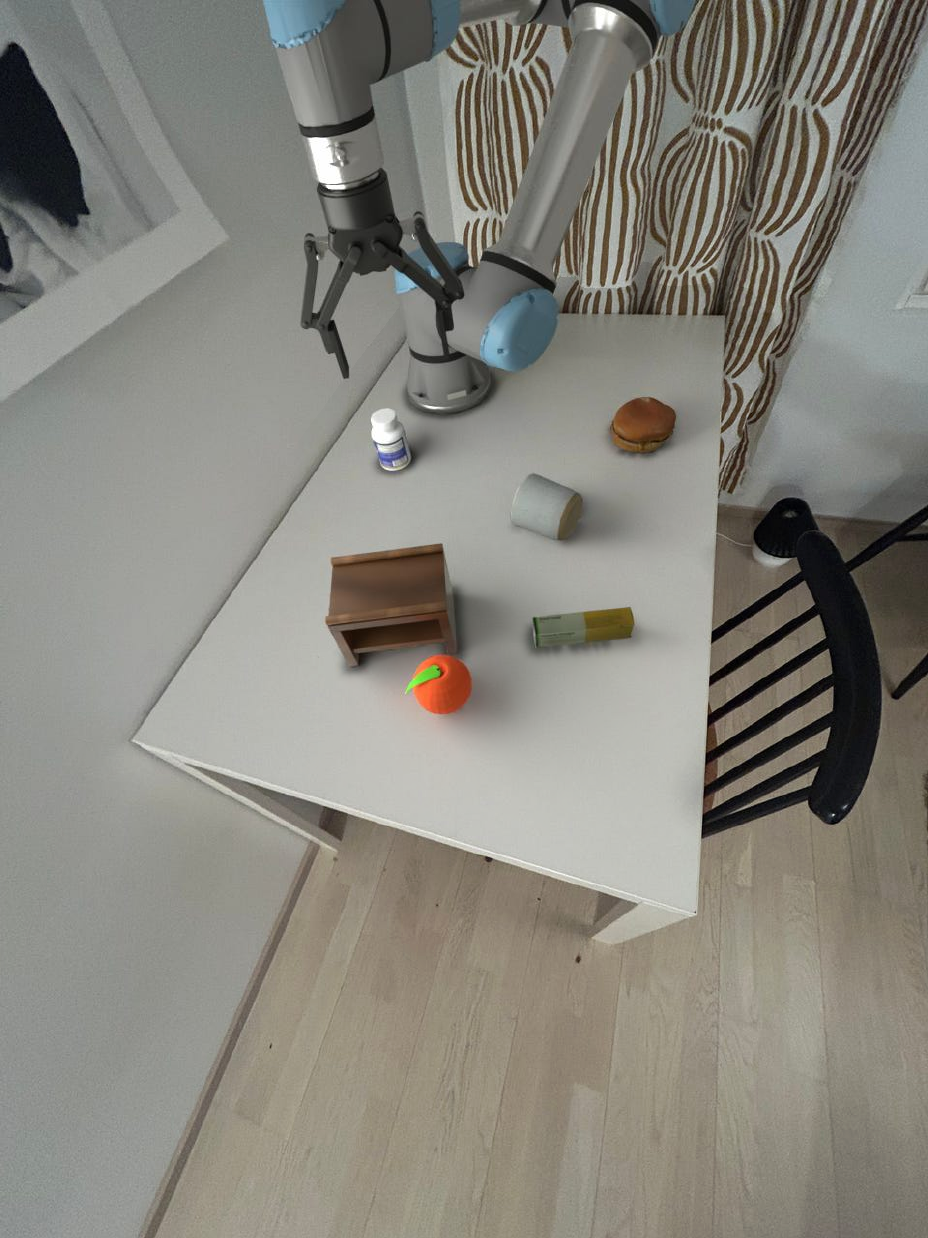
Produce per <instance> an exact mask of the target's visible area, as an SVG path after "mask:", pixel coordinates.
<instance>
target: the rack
mask: <svg viewBox="0 0 928 1238" xmlns="http://www.w3.org/2000/svg"><path fill="white" fill-rule="evenodd" d="M329 559H330V560H329V561H330V565H331V566H332V567H331V568H332V569H331V579H330V592H329V602H328V613H327V616H325V617H324V623H325V625H326V626H327V629H328V631H329V632H330V634H331V635H332V638H333V640H334V641H335V643H336V645H337V646H338V649H339V650H340V652H341V654H342V656H343V658H344V659H345V661H346V663H347V665H348V666H349V667H356V666H359V659H360V653H368V652H377V651H386V650H394V649H402V648H403V649H404V648H411V647H418V646H420V647H421V646H428V645H435V644H444V645H445V649H446V652H447V655H450V656H452V655H457V654H458V645H457V629H456V618H455V617H456V616H455V602H454V591H453V586H452V582H451V581H452V580H451V577H450V573H449V567H448V563H447V559H446V554H445V549H444V546H443V542H442V543H434V544H425V545H418V546H411V547H404V548H403V547H402V548H395V549H388V550H380V551H372V552H364V553H357V554H349V555H341V556H335V557H334V556H333V557H330V558H329Z"/></svg>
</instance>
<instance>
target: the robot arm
mask: <svg viewBox="0 0 928 1238" xmlns="http://www.w3.org/2000/svg"><path fill="white" fill-rule="evenodd" d="M696 1H697V0H262V5H263V8H264V12H265V16H266V19H267V24H268V27H269V31H270V39H271V42H272V45H273V46H274V47H275V51H276V54H277V58H278V61H279V64H280V65H279V66H280V69H281V71H282V75H283V78H284V82H285V86H286V88H287V91H288V95H289V99H290V101H291V105H292V108H293V113H294V115H295V119H296V122H297V124H298V128H299V132H300V136H301V139H302V144H303V146H304V151H305V154H306V158H307V161H308V164H309V168H310V171H311V176H312V178H313V179H314V180H315V181H316V182H318V184H317V186H316V192H317V195H318V199H319V203H320V206H321V210H322V213H323V216H324V220H325V224H326V228H327V231H328V233H327V235H324V236H315V235H314V234H313V233H311V232H307V233H306V234H305V235H304V241H303V242H304V243H303V252H304V257H305V261H306V272H305V278H304V279H305V281H304V289H303V294H302V295H303V297H302V304H301V311H300V312H301V313H300V327H301V328H302V329H303V330H309V329H315V330H316V331H317V332H318V333H319V336H320V338H321V341H322V344H323V347H324V350H325V352H326V353H327V354H328V355H331V354H332V355H333V354H334V355H335V358H336V361H337V364H338V367H339V369H340V373H341V376H342V379H343V380H346V379H347V380H348V379H350V365H349V362H348V359H347V356H346V352H345V350H344V347H343V343H342V340H341V336H340V333H339V330H338V327H337V323H336V321H335V319H332V318H333V315H334V314H335V311H336V309H337V306H338V304H339V302H340V299H341V297H342V295H343V293H344V291H345V289H346V286H347V285H348V283H349V282H350V280H351V277H352V275H353V273H355V274H358V275H359V276H360V277H363V276H367V275H369V274H371V273H373V272H374V273H375V272H376V273H382V272H387V269H389V268H390V267H392V268H394V280H395V293H396V295H397V299H398V304H399V308H400V312H401V317H402V322H403V327H404V331H405V332H404V333H405V336H406V340H407V344H408V350H409V362H408V371H407V377H406V378H407V379H406V390H407V395H408V400H409V401H410V403H411V404H412V405H413V406H414V407H415V408H416V409H418V410H421V412H425V413H429V414H434V415H451V414H456V413H460V412H464V411H467V410H469V409H471V408H473V407H475V406H477V405H478V404H480V403H481V402H482V401H484V400H485V399H486V398H487V396H488V395H489V393H490V391H491V388H492V381H491V378H492V377H491V373H490V369H489V367H488V366H490V367H492V368H499V369H500V370H503V371H507V372H520V371H522V370H525V369H527V368H528V367H529V366H531V365H533V364H534V363H535V362H537V361H538V359H540V358H541V357H542V356H543V354H544V352H545V351H546V350H547V349H548V347H549V345H550V344H551V342H552V340H553V338H554V336H555V333H556V330H557V327H558V322H559V321H558V319H557V317H558V316H559V313H560V312H559V311H560V308H559V303H558V301H557V298H556V297H555V296H554V293H555V290H556V288H557V286H558V285H557V284H558V282H557V279H556V276H555V272H554V266H555V263H556V261H557V258H558V256H559V253H560V251H561V248H562V246H563V244H564V241H565V239H566V236H567V234H568V231H569V229H570V227H571V224H572V222H573V219H574V217H575V214H576V212H577V209H578V207H579V205H580V203H581V200H582V198H583V194H584V193H585V190H586V187H587V185H588V184H589V183H588V182H589V180H590V177H591V175H592V173H593V170H594V168H595V165H596V163H597V161H598V158H599V156H600V154H601V151H602V148H603V146H604V144H605V141H606V138H607V136H608V134H609V131H610V129H611V126H612V124H613V122H614V119H615V117H616V114H617V111H618V110H619V108H620V107H619V106H620V105H621V102H622V100H623V97H624V95H625V92H626V89H627V88H628V85H629V83H630V80H631V78H632V75H633V74H635V73H637V72H640V71H641V70H643V69H645V68H647V67H648V65H649V64H650V62H651V60H652V58H653V55H654V53H655V50H656V49H657V45H658V43H659V41H660V39H661V37H662V36H663V37H666V38H668V37H671V36H673V35H676V34H677V33H679V32H680V31H682V29H683V28H684V27H685V26H686V24H687V23H688V20H689V19H690V17H691V14H692V13H693V10H694V7H695V4H696ZM499 20H503V21H504V22H505V23H506V24H508V25H510V26H514V27H519V26H523V25H527V24H529V25H530V24H532V25H533V24H536V25H547V26H552V27H553V26H554V27H561V28H567V29H568V30H569V31H568V32H569V34H570V37H571V40H572V42H571V46H570V48H569V51H568V54H567V56H566V59H565V61H564V64H563V67H562V70H561V73H560V75H559V78H558V80H557V83H556V85H555V89H554V91H553V94H552V97H551V99H550V102H549V105H548V107H547V110H546V112H545V115H544V119H543V121H542V124H541V126H540V128H539V131H538V134H537V137H536V139H535V142H534V145H533V148H532V150H531V153H530V156H529V158H528V161H527V164H526V166H525V169H524V172H523V174H522V178H521V179H520V182H519V185H518V187H517V191H516V193H515V196H514V198H513V201H512V204H511V206H510V209H509V212H508V215H507V217H506V220H505V223H504V225H503V229H502V230H501V234H500V236H499V239H498V241H496V243H495V244H492V245H490V246H488V247H486V248H484V249H483V251H482V254H481V256H480V259H479V261H478V264H477V267H474V266H472V265H470V264H469V259H470V255H469V254H468V251H467V247H466V246H465V245H464V244H462V243H461V242H456V241H442V242H441V241H440V242H436V241H435V239H434V238H433V237H432V235H431V234H430V232H429V230H428V228H427V227H428V226H427V222H426V219H425V215H424V213H423V212H422V211H420V210H417V211H414V213H413V216H412V217H410V218H405V219H404V220H399V219H398V217H397V215H396V212H395V207H394V203H393V197H392V193H391V188H390V183H389V178H388V172H387V171H386V170H385V169H384V168H383V165H384V164H385V157H384V152H383V147H382V142H381V137H380V136H381V135H380V131H379V126H378V121H377V117H376V112H375V106H374V101H373V95H372V89H371V85H374V84H377V83H379V82H381V81H383V80H385V79H387V78H390V77H392V76H394V75H396V74H399V73H401V72H403V71H406V70H409V69H410V68H413V67H415V66H418V65H419V64H422V63H424V62H425V63H428V62H431V60H433V58H434V57H437V56H438V55H439V54H441V53H442V52H444V51H446V50H447V49H449V48H450V47H451V45H452V44H453V43H454V42H455V39H456V38H457V35H458V32H459V29H464V28H468V27H473V26H476V25H481V24H486V23H490V22H494V21H499ZM404 235H407V236H408V237H409V238H410V240H411V241H412V242H418V244H419V245H420V247H419V248H417V249H414V250H412V251H411V252H409V253H407V251H405V250H404V248H403V247H401V246H400V245H401V242H402V240H403V237H404ZM328 250H329V251H330V252H331V253H332V254H333V255H334V256H335V257H336V258H337V259H338V264H337V267H336V268H337V269H336V270H335V272H334V275H333V276H332V280H331V282H330V284H329V287H328V289H327V291H326V293H325V296H324V298H323V301H322V303H321V305H320V307H319V310H318V311H317V312H314V304H315V296H316V289H317V281H318V274H319V273H318V272H319V261H323V260H324V258H325V253H326V251H328Z"/></svg>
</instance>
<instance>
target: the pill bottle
mask: <svg viewBox="0 0 928 1238" xmlns="http://www.w3.org/2000/svg"><path fill="white" fill-rule="evenodd" d="M370 420H371V424H372V429H371V439H372V441H373V445H374V448H375V451H376V455H377V458H378V461H379V464H380V466H381V467H382V468H383V469H384V470H387V471H390V472H395V471H400V470H402V469H404V468H406V467H407V466H408V465H409V464H410V463H411V460H412V455H411V450H410V446H409V442H408V438H407V433H406V430H405V427H404V424H403V423H402V422H401V421H399V419H398V415H397V412H396V411H395V410H394V409H392V408H388V407H385V408H380V409H378V410H376V411H374V412H373V413H372V414H371V417H370Z"/></svg>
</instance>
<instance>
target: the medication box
mask: <svg viewBox="0 0 928 1238" xmlns="http://www.w3.org/2000/svg"><path fill="white" fill-rule="evenodd" d="M531 620H532V638H533V639H532V640H533V644H534V647H535V649H537V648H547V647H556V646H566V645H567V646H568V645H577V644H587V643H596V642H597V643H598V642H607V641H616V640H617V641H618V640H626V639H627V640H628V639H632V638H633V636H632V634H633V631H634V627H635V617H634V614H633V610H632V607H631V606H625V607H615V608H607V609H598V610H597V609H596V610H589V611H587V610H586V611H579V612H569V613H560V614H559V613H558V614H551V615H542V616H533V617H532V618H531Z"/></svg>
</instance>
